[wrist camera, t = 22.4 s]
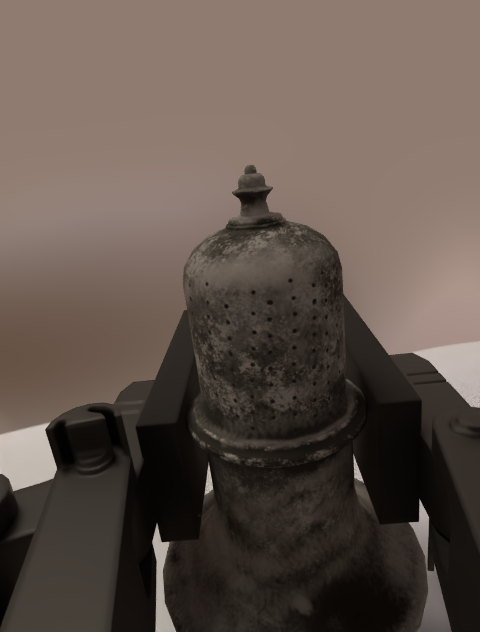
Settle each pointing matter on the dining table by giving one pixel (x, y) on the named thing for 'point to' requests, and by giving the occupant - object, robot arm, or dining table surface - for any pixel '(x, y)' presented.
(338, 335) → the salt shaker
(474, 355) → the dining table surface
